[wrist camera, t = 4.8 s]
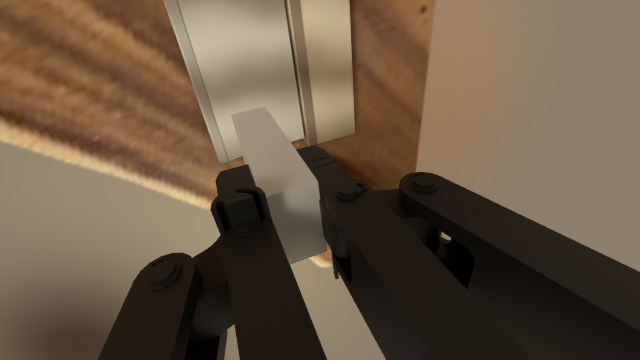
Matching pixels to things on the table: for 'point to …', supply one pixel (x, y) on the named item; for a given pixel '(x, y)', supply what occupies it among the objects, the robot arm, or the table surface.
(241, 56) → the plank
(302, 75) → the laid board
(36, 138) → the table surface
